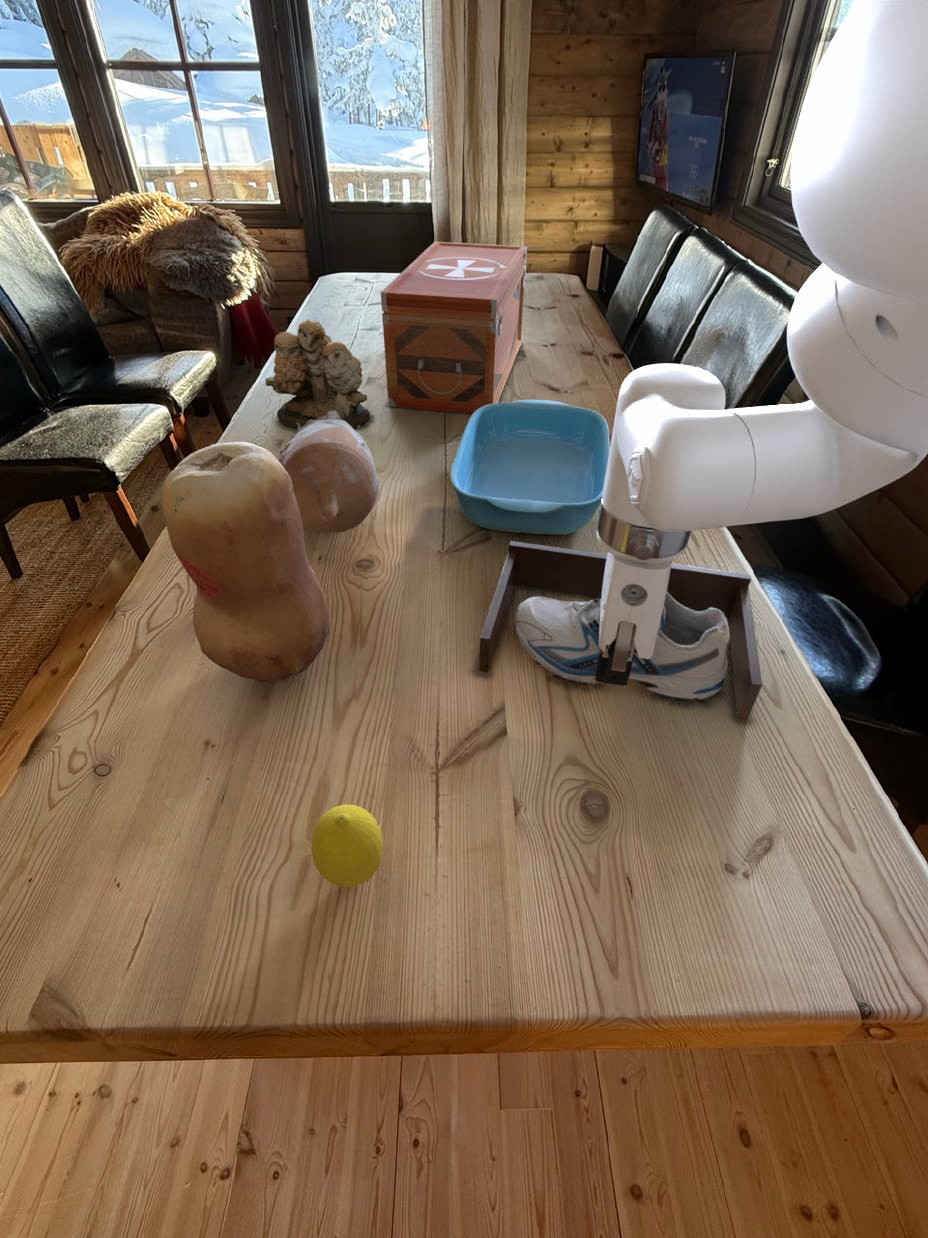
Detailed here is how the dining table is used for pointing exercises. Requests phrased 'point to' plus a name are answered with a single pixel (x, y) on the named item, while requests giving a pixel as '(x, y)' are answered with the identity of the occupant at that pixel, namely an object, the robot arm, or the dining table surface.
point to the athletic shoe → (679, 662)
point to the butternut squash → (246, 561)
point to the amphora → (331, 474)
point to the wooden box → (454, 326)
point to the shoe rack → (586, 579)
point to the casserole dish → (531, 466)
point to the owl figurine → (316, 378)
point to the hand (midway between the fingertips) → (611, 678)
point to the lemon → (347, 845)
